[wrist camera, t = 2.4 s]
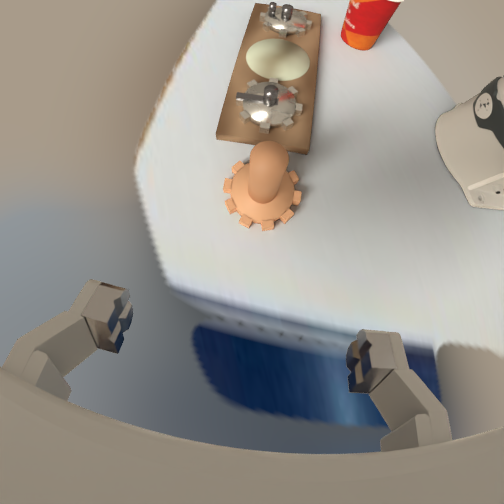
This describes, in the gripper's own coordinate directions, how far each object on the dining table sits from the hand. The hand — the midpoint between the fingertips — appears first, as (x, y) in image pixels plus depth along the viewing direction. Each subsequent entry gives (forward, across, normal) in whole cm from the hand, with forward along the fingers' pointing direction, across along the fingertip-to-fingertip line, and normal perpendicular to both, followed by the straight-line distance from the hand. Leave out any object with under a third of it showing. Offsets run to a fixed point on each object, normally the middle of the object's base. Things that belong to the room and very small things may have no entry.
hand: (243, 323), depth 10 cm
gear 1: (+44, +1, -14) cm, 46 cm away
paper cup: (+46, -11, -15) cm, 50 cm away
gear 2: (+31, +1, -1) cm, 31 cm away
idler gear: (+24, 0, +8) cm, 25 cm away
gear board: (+38, +1, -7) cm, 39 cm away
